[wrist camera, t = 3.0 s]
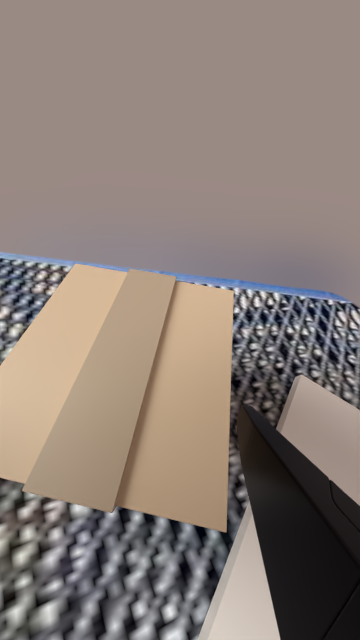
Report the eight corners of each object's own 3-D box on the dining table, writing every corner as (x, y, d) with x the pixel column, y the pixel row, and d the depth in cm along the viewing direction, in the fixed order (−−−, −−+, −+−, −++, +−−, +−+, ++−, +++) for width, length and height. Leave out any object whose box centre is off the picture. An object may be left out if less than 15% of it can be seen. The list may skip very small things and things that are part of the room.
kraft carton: (181, 456, 13) (229, 541, 3) (109, 439, 13) (-83, 465, 3) (192, 379, 16) (235, 286, 6) (133, 367, 16) (74, 259, 6)
